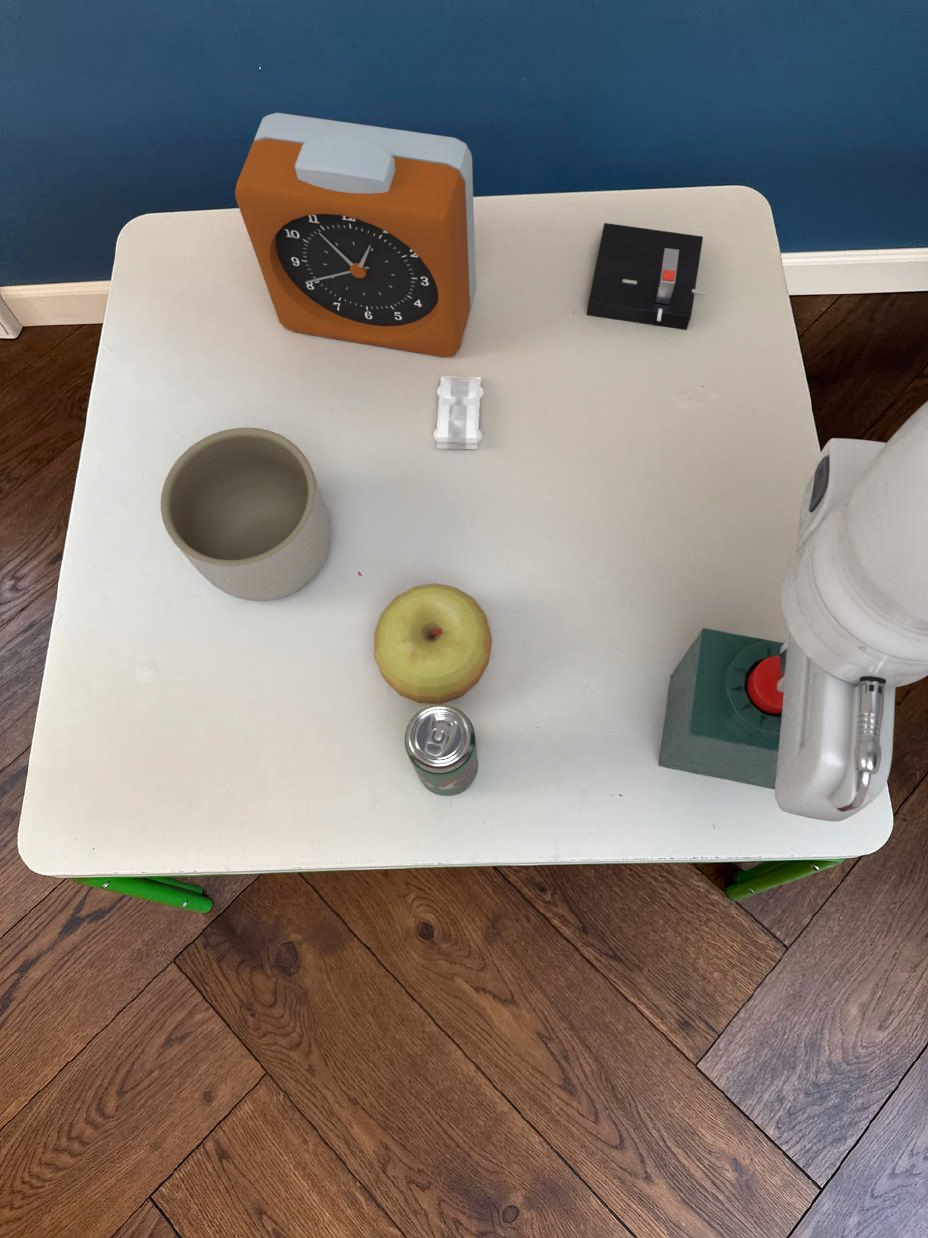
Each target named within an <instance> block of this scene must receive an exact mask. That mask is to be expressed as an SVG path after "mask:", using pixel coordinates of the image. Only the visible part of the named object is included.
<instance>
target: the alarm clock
mask: <svg viewBox="0 0 928 1238" xmlns="http://www.w3.org/2000/svg"><path fill="white" fill-rule="evenodd" d="M473 177H474V175H473V156H472V152H471V150H470V148H469V147H468V145H467V143H466V142H464V141H462V140H460V139H458V138H456V137H453V136H445V135H440V134H439V135H438V134H430V133H424V132H417V131H411V130H403V129H395V128H388V127H381V126H375V125H367V124H361V123H352V122H348V121H347V122H346V121H338V120H332V119H325V118H317V117H311V116H303V115H296V114H289V113H282V112H274V113H270V114H267V115H266V116H264V117H262V119H261V122H260V124H259V125H258V129H257V132H256V134H255V136H254V139H253V142H252V144H251V146H250V148H249V152H248V155H247V156H246V159H245V162H244V164H243V167H242V169H241V172H240V175H239V177H238V179H237V181H236V186H235V190H234V195H235V200H236V203H237V206H238V208H239V212H240V214H241V217H242V220H243V224H244V226H245V229H246V231H247V234H248V238H249V240H250V243H251V246H252V249H253V251H254V254H255V257H256V260H257V263H258V265H259V268H260V270H261V273H262V277H263V280H264V283H265V285H266V288H267V291H268V294H269V296H270V299H271V302H272V305H273V308H274V311H275V313H276V316H277V319H278V321H279V323H280V324H281V325H282V326H283V328H285V329H286V330H288V331H292V332H293V333H298V334H303V335H309V336H315V337H322V338H326V339H327V338H328V339H332V340H333V339H334V340H340V341H346V342H350V343H356V344H357V343H358V344H364V345H369V346H376V347H382V348H387V349H392V350H399V351H405V352H410V353H418V354H424V355H429V356H434V357H439V358H440V357H442V358H449V357H454V355H456V354H457V352H458V351H459V350H460V348H461V345H462V342H463V338H464V334H465V330H466V327H467V323H468V319H469V315H470V312H471V308H472V305H473V302H474V297H475V295H476V294H475V293H476V289H477V281H476V280H477V279H476V245H475V244H476V241H475V211H474V210H475V209H474V182H473V181H474V178H473Z"/></svg>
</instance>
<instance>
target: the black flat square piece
mask: <svg viewBox="0 0 928 1238" xmlns="http://www.w3.org/2000/svg"><path fill="white" fill-rule="evenodd" d="M703 239H704V236H702V235H695V234H687V233H682V232H681V233H680V232H674V231H673V232H672V231H665V230H659V229H651V228H645V227H644V228H643V227H638V226H631V225H630V226H629V225H622V224H615V223H608V222H604V223H603V227H602V232H601V237H600V241H599V247H598V252H597V257H596V262H595V267H594V271H593V277H592V282H591V287H590V291H589V298H588V301H587V309H586V316H590V317H598V318H603V319H609V320H617V321H624V322H628V323H629V322H630V323H635V324H636V323H637V324H643V325H649V326H657V327H663V328H670V329H676V330H677V329H678V330H683V331H687V330H688V327H689V324H690V321H691V318H692V313H693V306H694V301H695V294H696V295H701V296H707V292H708V291H707V290H701V289H696V287H697V286H696V285H697V279H698V272H699V266H700V260H701V253H702V246H703V241H704V240H703ZM665 248H668V249H677V250H679V256H678V264H677V272H676V281H675V285H674V289H673V293H672V296H671V300H670V304H662V303H655V298H656V291H657V283H658V276H659V269H660V265H661V261H662V257H663V253H664V249H665Z"/></svg>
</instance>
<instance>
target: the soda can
mask: <svg viewBox="0 0 928 1238" xmlns="http://www.w3.org/2000/svg"><path fill="white" fill-rule="evenodd" d="M404 747H405V752H406V754H407V756H408V758H409V760H410V762H411V764H412V767H413V769H414V770H415V773H416V775H417V777H418V779H419V780H420V783H421V784H422V786H424V788H425V789H426V790H428V791H429V792H431V793H432V794H435V795H438V796H442V797H453V796H456V795H459V794H461V793H463V792H464V791H466V790H468V788H470V786H471V785H472V784H473V783H474V781H475V779H476V777H477V773H478V768H479V763H478V762H479V761H478V760H479V759H478V750H477V740H476V733H475V727H474V726H473V723H472V721H471V720H470V718H469V717H468V716H467V715H466V714H465V713H464V712H463V711H462V710H461V709H459V708H457V707H455V706H453V705H448V704H443V703H442V704H432V705H429V706H426V707H424V708H422V709H421V710H419V711H418V712H416V714H414V715H413V717H412V718H411V719H410V721H409V722H408V724H407V726H406V729H405V733H404Z"/></svg>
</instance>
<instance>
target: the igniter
mask: <svg viewBox="0 0 928 1238" xmlns="http://www.w3.org/2000/svg"><path fill="white" fill-rule="evenodd" d="M784 643H785V642H781V641H776V640H770V639H765V638H760V637H755V636H749V635H743V634H739V633H738V634H737V633H734V632H733V633H731V632H727V631H722V630H716V629H710V628H705V627H703V628H701V630H700V631H699V633H698V634H697V636H696V637H695V639H694V641H693V642H692V643H691V644H690V645H689V648H688V649H687V651H686V652H685V654H684V655H683V656H682V658H681V659H680V661H679V662H678V664H677V665H676V667H675V668H674V669H673V671H672V673H671V674H670V678H669V685H668V692H667V698H666V699H667V700H666V706H665V715H664V721H663V728H662V735H661V743H660V749H659V750H660V751H659V758H658V767H661V768H666V769H671V770H676V771H680V772H685V773H691V774H696V775H701V776H706V777H711V778H716V779H719V780H727V781H731V782H736V783H740V784H746V785H752V786H755V787H760V788H761V787H762V788H766V789H771V790H775V782H776V772H777V761H778V750H779V739H780V728H781V717H782V713H780V714H774V713H769V712H766V711H764V710H762V709H760V708H759V707H758V706H756V705H755V704H754V702H753V701H752V700H751V698H750V696H749V693H748V689H747V682H748V678H749V676H750V674H751V672H752V671H753V670H754V669H755V668H756V667H757V666H758V665H759V664H760V663H761V662H762V661H763V660H765V659H767V658H769V657H773V656H780V650H781V646H782V645H783V644H784Z"/></svg>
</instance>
